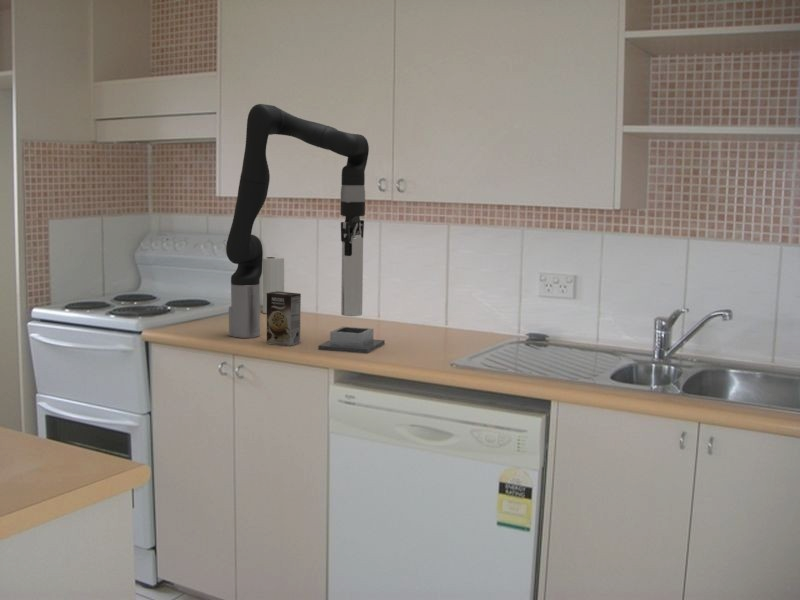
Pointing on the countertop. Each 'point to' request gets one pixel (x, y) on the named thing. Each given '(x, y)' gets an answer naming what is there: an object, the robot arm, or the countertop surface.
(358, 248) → the silver metal cylinder
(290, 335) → the coffee box
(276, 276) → the paper towel roll
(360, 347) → the board
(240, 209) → the robot arm
